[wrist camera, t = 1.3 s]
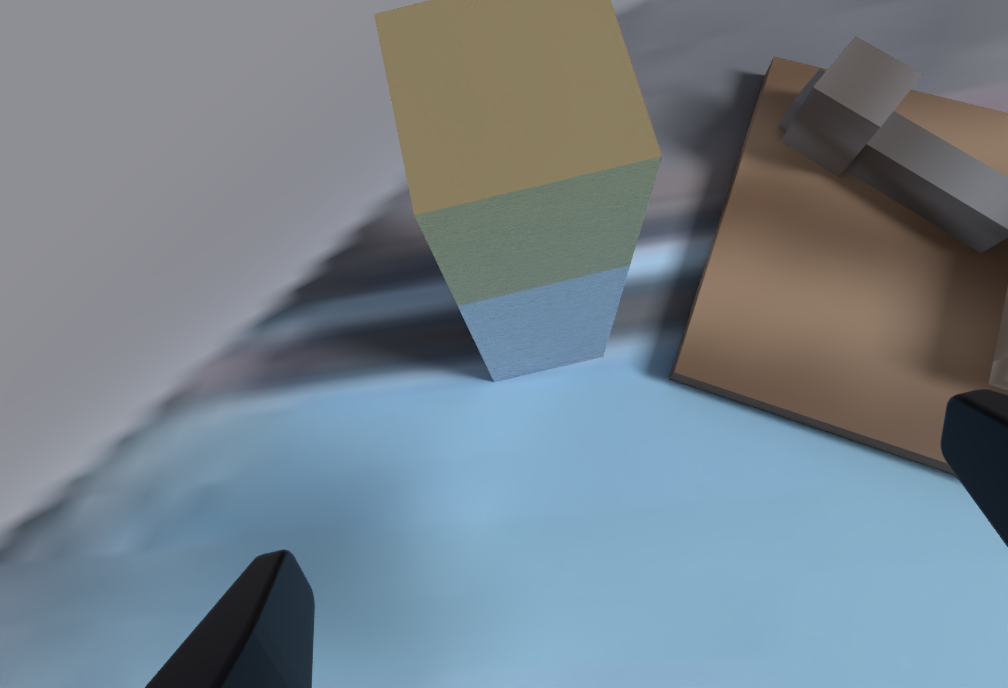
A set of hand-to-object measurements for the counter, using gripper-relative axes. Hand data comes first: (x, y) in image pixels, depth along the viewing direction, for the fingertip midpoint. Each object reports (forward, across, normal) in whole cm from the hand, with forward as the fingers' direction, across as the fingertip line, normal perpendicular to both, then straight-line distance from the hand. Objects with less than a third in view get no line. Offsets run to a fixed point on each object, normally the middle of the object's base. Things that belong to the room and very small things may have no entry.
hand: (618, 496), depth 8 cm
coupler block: (+14, 0, +4) cm, 15 cm away
